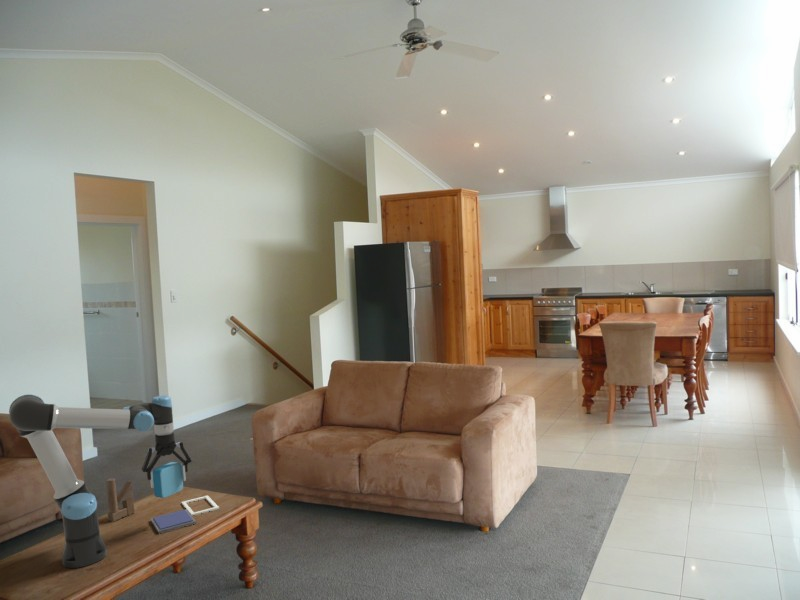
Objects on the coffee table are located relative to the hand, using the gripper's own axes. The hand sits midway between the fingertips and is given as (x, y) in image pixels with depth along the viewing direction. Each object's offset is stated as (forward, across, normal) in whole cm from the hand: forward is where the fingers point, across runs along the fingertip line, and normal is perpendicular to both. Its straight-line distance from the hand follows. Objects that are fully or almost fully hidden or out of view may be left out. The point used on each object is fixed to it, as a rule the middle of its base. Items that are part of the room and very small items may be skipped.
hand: (168, 483), depth 270 cm
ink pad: (+17, +1, 0) cm, 17 cm away
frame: (+17, +15, +11) cm, 25 cm away
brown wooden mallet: (+17, -16, +23) cm, 33 cm away
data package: (+5, 0, 0) cm, 5 cm away
